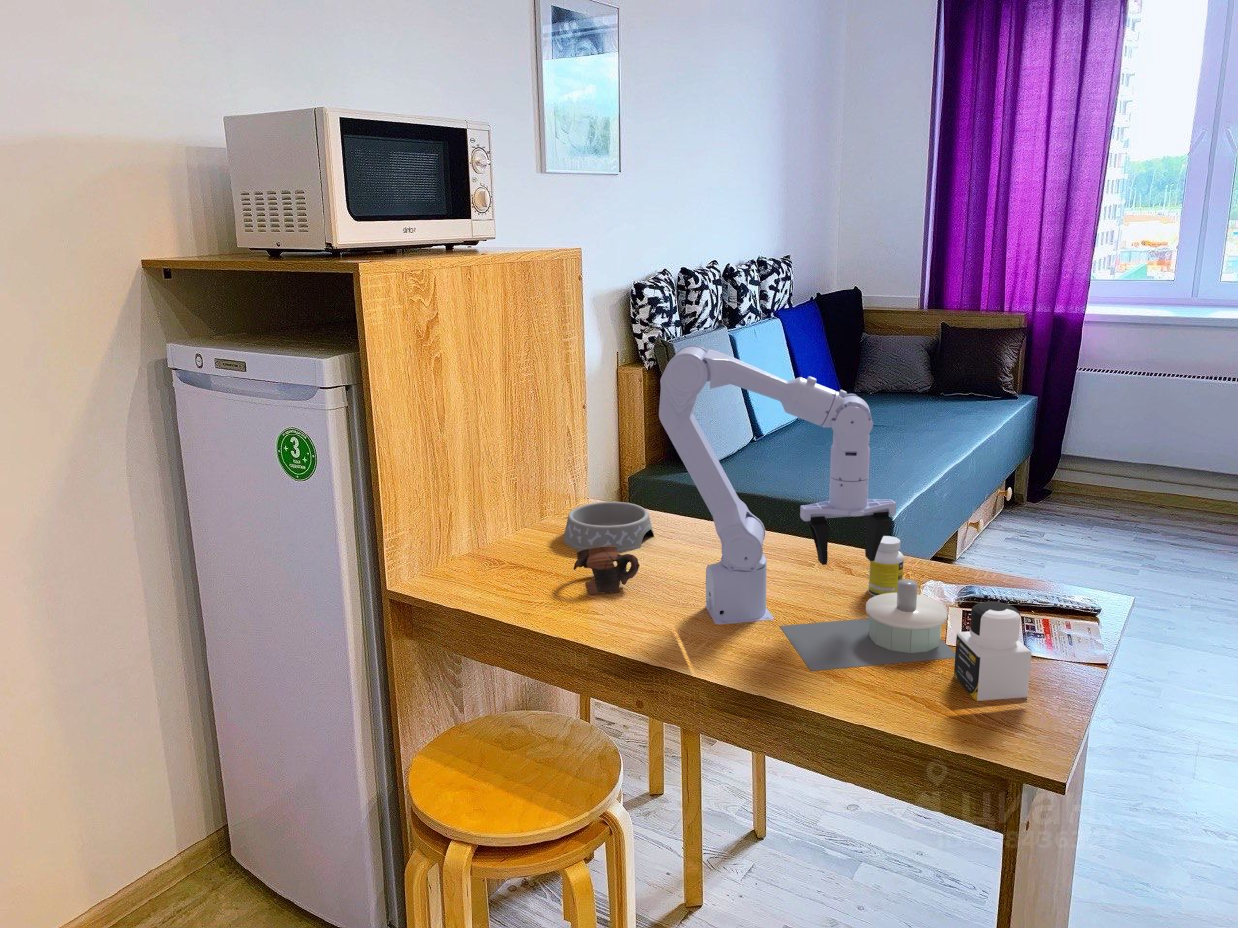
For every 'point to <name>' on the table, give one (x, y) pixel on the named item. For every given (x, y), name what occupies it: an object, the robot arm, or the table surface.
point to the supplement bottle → (886, 567)
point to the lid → (906, 608)
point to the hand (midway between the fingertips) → (846, 560)
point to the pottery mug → (606, 568)
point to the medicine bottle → (993, 654)
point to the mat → (849, 646)
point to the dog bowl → (607, 526)
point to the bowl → (904, 638)
